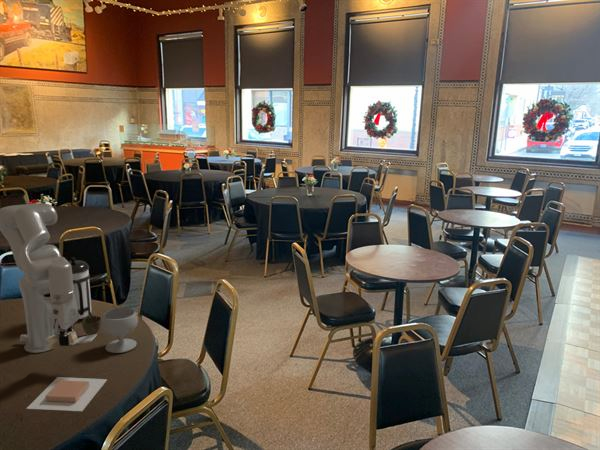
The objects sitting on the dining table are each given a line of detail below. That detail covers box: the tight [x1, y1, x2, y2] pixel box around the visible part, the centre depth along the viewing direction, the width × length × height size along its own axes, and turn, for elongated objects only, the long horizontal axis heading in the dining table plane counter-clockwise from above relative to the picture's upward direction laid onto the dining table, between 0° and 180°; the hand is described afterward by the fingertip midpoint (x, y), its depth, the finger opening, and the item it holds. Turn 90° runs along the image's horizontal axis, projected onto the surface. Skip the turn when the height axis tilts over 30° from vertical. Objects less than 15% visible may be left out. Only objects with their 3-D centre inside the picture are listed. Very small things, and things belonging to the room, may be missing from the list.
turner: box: [46, 330, 98, 350], centre depth 163 cm, size 17×5×4 cm, turn 88°
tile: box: [45, 380, 89, 402], centre depth 149 cm, size 10×2×9 cm
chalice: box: [100, 307, 139, 354], centre depth 183 cm, size 14×14×15 cm
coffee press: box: [67, 256, 93, 320], centre depth 205 cm, size 17×16×30 cm
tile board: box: [25, 376, 108, 412], centre depth 150 cm, size 18×18×2 cm
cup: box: [81, 315, 102, 336], centre depth 192 cm, size 8×7×8 cm
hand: (67, 342), depth 163 cm, fingers closed on turner, 2 cm apart
